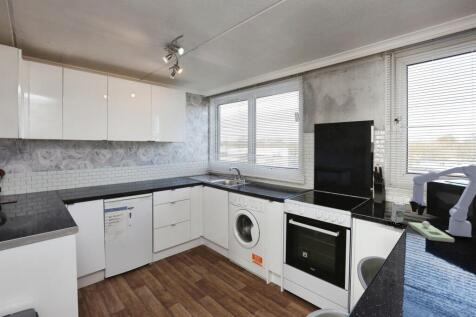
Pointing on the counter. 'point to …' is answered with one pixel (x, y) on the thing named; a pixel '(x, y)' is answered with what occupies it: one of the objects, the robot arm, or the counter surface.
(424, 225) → the golf ball
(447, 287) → the counter surface
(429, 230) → the mat
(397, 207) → the syrup box
